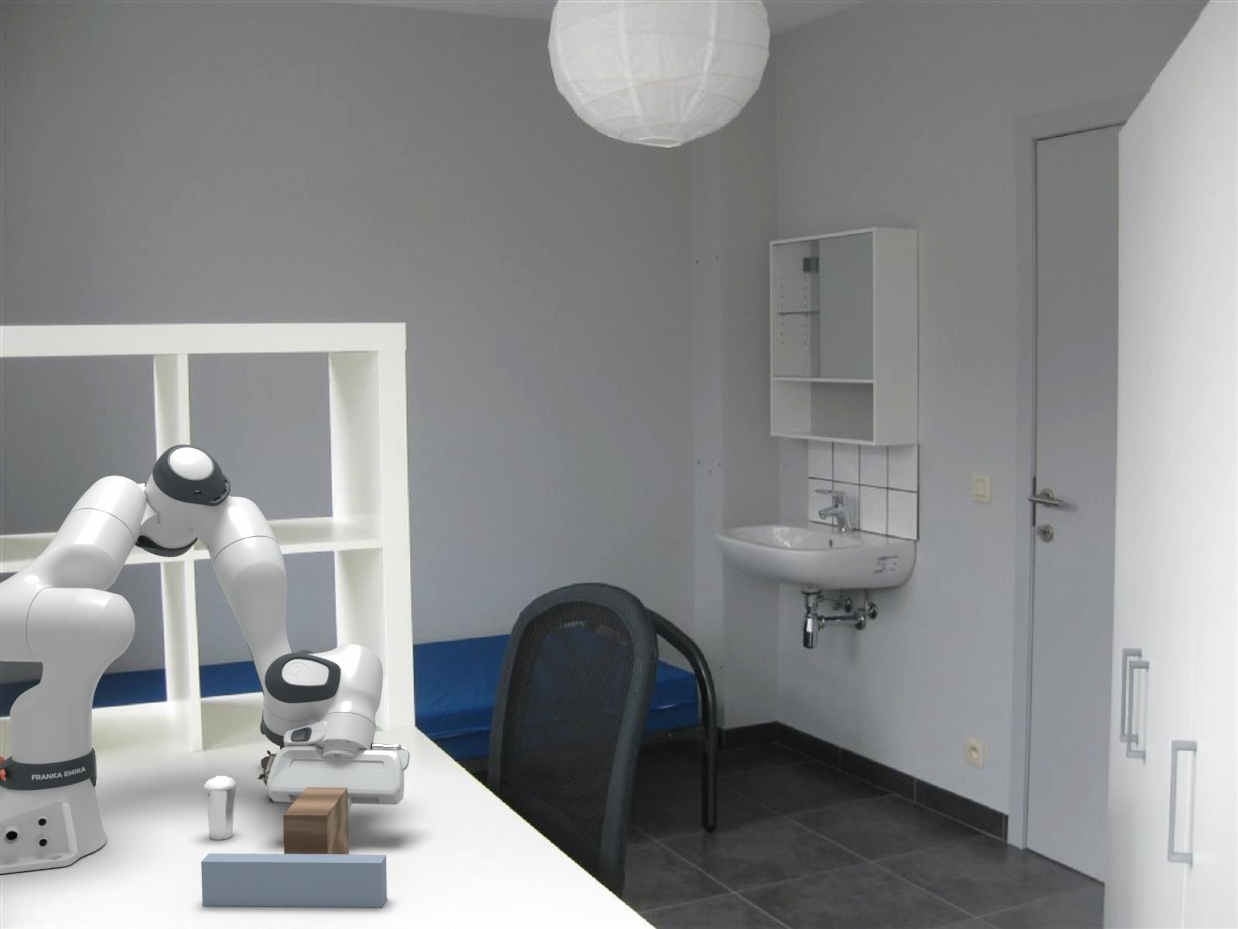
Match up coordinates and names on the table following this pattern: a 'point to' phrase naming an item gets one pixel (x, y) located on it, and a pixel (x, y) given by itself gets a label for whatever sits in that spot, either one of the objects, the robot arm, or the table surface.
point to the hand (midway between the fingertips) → (328, 828)
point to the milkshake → (220, 806)
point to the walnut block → (317, 822)
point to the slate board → (294, 880)
